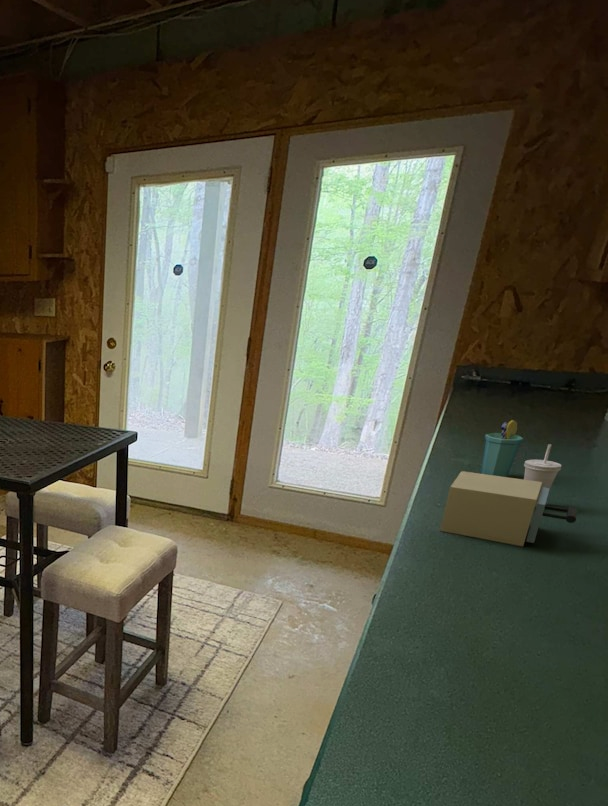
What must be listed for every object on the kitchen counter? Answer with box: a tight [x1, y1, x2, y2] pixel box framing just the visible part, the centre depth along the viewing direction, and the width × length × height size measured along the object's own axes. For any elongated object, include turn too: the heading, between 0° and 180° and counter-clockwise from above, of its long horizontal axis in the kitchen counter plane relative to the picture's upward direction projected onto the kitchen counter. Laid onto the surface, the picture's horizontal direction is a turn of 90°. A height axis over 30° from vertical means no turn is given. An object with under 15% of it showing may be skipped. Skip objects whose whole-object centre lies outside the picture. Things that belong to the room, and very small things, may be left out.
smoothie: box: [523, 443, 563, 508], centre depth 138 cm, size 6×6×14 cm
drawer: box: [525, 487, 578, 544], centre depth 124 cm, size 17×12×8 cm
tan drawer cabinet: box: [439, 470, 542, 547], centre depth 127 cm, size 14×14×10 cm
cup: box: [480, 419, 524, 477], centre depth 157 cm, size 14×8×15 cm, turn 136°
